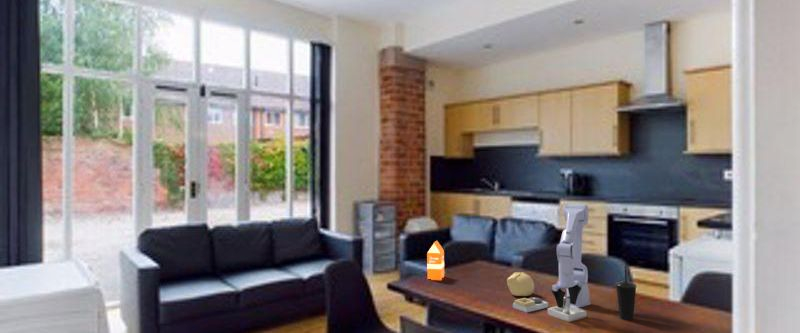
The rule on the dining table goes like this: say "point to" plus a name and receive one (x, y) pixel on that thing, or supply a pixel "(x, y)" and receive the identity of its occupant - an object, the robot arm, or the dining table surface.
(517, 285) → the sculpture
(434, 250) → the orange juice
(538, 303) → the white flat block
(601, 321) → the dining table surface
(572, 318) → the tray
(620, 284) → the drinking cup
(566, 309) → the lock pin
